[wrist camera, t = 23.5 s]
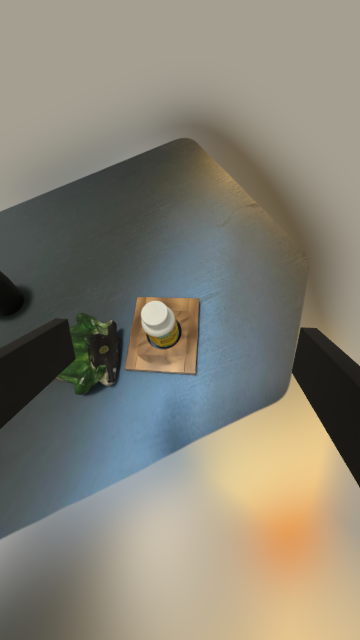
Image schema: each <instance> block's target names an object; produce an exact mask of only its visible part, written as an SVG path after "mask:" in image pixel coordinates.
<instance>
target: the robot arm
mask: <svg viewBox="0 0 360 640" xmlns="http://www.w3.org/2000/svg"><path fill="white" fill-rule="evenodd" d="M74 360H76V356H75V352H74V347H73V342H72V338H71V333H70V328H69V324H68V319H54V320H52V321H50V322H48V323H46V324H45V325H43V326H41V327H39V328H37V329H35V330H33V331H32V332H30V333H28V334H26V335H24V336H22V337H21V338H19V339H17V340H15V341H13V342H11V343H9V344H8V345H6V346H4V347H2V348H0V429H1V428H2V427H3V426H4V425H5V424H6V423H7V422H8V421H9V420H11V419H12V418H13V417H14V416H15V415H16V414H17V413H18V412H19V411H20V410H21V409H22V408H24V407H25V406H26V405H27V404H28V403H29V402H30V401H31V400H32V399H33V398H34V397H35V396H37V395H38V394H39V393H40V392H41V391H42V390H43V389H44V388H45V387H46V386H47V385H48V384H50V383H51V382H52V381H53V380H54V379H55V378H56V377H57V376H58V375H59V374H60V373H61V372H63V371H64V370H65V369H66V368H67V367H68V366H69V365H70V364H71V363H72V362H73V361H74ZM292 374H293V375H294V377H295V379H296V380H297V382H298V384H299V385H300V387H301V389H302V390H303V392H304V394H305V395H306V397H307V399H308V401H309V402H310V404H311V406H312V407H313V409H314V411H315V412H316V414H317V416H318V418H319V419H320V421H321V422H322V424H323V426H324V428H325V429H326V431H327V433H328V434H329V436H330V438H331V439H332V441H333V443H334V444H335V446H336V448H337V450H338V451H339V453H340V455H341V456H342V458H343V460H344V462H345V463H346V465H347V467H348V468H349V470H350V471H351V473H352V475H353V476H354V478H355V480H356V482H357V483H358V485H359V487H360V366H359V365H358V364H357V363H356V362H354V361H353V360H352V359H351V358H350V357H349V356H348V355H347V354H345V353H344V352H343V351H342V350H341V349H340V348H339V347H337V346H336V345H335V344H334V343H333V342H332V341H331V340H329V339H328V338H327V337H326V336H325V335H324V334H323V333H321V332H320V331H319V330H318V329H317V328H301V329H300V334H299V339H298V344H297V348H296V353H295V358H294V363H293V368H292Z"/></svg>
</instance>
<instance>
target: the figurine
mask: <svg viewBox="0 0 360 640" xmlns="http://www.w3.org/2000/svg"><path fill="white" fill-rule="evenodd" d="M76 319H77V322H78V324H77V325H75V326H72V327H71V328H70V333H71V338H72V342H73V347H74V352H75V356H76V360H74V361H73V362H72V363H71V364H70V365H69V366H68V367H67V368H66V369H65V370H64V371H63V372H61V373H60V374H59V375H58V376H57V377H56V378H57V379H59V380H63V381H69V382H71V383H73V384H74V385H75V393H76V394H78V395H82V394H85V393H87V392H88V391H89V390H90V389H92V388H93V387H94V386H95V385H96V384H97V383H98V382H101V383H102V384H103V385H106V386H109V385H112V384H114V383H115V381H116V368H117V366H118V365H119V354H118V348H119V344H120V340H119V337H118V336H117V334H116V328H117V326H116V323H115V322H114V321H109V322H107V323H102V322H100V321H98V320H97V319H95V318H94V317H92V316H90V315H88V314H84V313H79V314H77V317H76Z"/></svg>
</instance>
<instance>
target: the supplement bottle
mask: <svg viewBox="0 0 360 640" xmlns="http://www.w3.org/2000/svg"><path fill="white" fill-rule="evenodd" d="M141 318H142V327H143V329H144V331H145V332H146V334H147V335H148V336H149V338H150V339H151V341H152V342H153V343H154V344H155V345H156V346H158V347H161V348H168V347H171V346H172V345H174V344H175V343H176V341H177V340H178V337H179V329H178V326H177V322H176V319H175V316H174V313H173V312H172V310H171V309H170V308H168V307H167V306H166V305H165V304H164V303H162V302H160V301H151V302H149V303H147V304H146V305H145V306H144V307H143V309H142V311H141Z"/></svg>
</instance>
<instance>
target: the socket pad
mask: <svg viewBox="0 0 360 640" xmlns="http://www.w3.org/2000/svg"><path fill="white" fill-rule="evenodd" d="M151 301H160V302H162V303H164V304H165V305H166V306H167V307H168V308H170V309H171V310H172V312H173V313H174V316H175V319H176V322H177V323H178V324H179V325H180V326H181V329H182V333H181V338H180V339H179V341H178V343H177V344H175V345H174V346H173V347H171V348H168V349H157V348H155V347H153V346H152V345H151V344H150V343H149V340H148V335H147V334H146V332H145V331H144V329H143V327H142V318H141V311H142V309H143V307H144V306H145V305H146V304H147V303H149V302H151ZM198 318H199V298H151V297H147V298H146V297H138V298H137V304H136V309H135V315H134V320H133V324H132V329H131V334H130V342H129V348H128V353H127V359H126V364H125V369H126V370H127V371H141V372H156V373H171V374H186V375H196V356H197V343H198Z"/></svg>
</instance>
